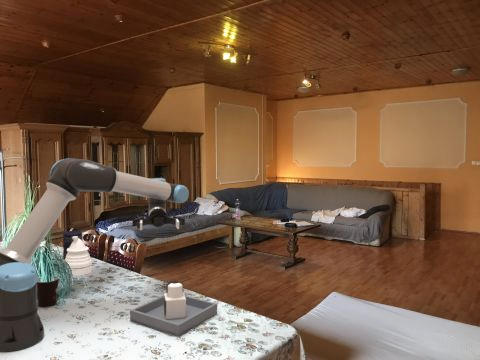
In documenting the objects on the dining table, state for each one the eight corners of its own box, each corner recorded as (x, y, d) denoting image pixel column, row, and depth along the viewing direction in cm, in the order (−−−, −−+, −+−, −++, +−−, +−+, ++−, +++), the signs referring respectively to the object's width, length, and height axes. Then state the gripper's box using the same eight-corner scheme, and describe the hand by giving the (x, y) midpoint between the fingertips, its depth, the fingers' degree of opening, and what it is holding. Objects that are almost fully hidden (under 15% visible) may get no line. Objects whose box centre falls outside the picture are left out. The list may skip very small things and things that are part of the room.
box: (130, 321, 140) (130, 310, 139) (171, 301, 158) (171, 291, 158) (178, 337, 128) (178, 325, 128) (217, 314, 147) (217, 303, 147)
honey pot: (83, 276, 188) (82, 239, 186) (58, 275, 190) (57, 238, 188) (96, 269, 200) (96, 233, 199) (73, 267, 202) (72, 232, 201)
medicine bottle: (163, 312, 146) (164, 280, 145) (183, 310, 148) (183, 278, 147) (165, 320, 139) (165, 286, 138) (186, 318, 141) (186, 284, 140)
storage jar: (84, 260, 216) (83, 233, 215) (64, 262, 211) (63, 234, 210) (81, 255, 224) (80, 229, 223) (62, 258, 219) (61, 231, 218)
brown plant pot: (49, 309, 149) (49, 283, 148) (29, 307, 151) (29, 281, 150) (69, 298, 160) (68, 274, 160) (50, 296, 162) (49, 272, 161)
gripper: (187, 224, 172) (193, 234, 151) (127, 226, 166) (125, 237, 146) (187, 207, 172) (193, 215, 151) (127, 208, 166) (125, 216, 145)
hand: (159, 226), depth 148 cm, fingers open, 13 cm apart
